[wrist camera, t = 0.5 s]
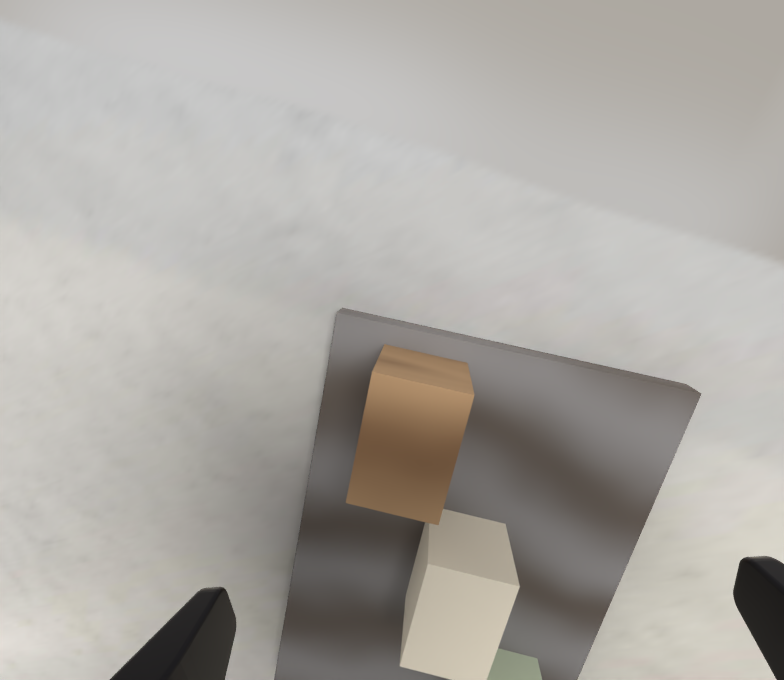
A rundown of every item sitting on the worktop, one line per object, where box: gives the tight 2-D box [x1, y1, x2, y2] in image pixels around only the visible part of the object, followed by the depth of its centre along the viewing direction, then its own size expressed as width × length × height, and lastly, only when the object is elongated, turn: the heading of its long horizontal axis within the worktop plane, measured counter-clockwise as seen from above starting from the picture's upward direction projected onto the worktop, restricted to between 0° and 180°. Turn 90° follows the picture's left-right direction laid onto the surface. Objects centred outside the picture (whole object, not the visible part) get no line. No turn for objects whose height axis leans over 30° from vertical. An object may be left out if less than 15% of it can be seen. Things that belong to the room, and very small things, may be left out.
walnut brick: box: [346, 344, 474, 525], centre depth 19 cm, size 6×4×4 cm, turn 169°
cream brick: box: [400, 509, 520, 680], centre depth 21 cm, size 6×4×4 cm, turn 169°
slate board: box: [274, 308, 701, 680], centre depth 24 cm, size 24×17×1 cm
